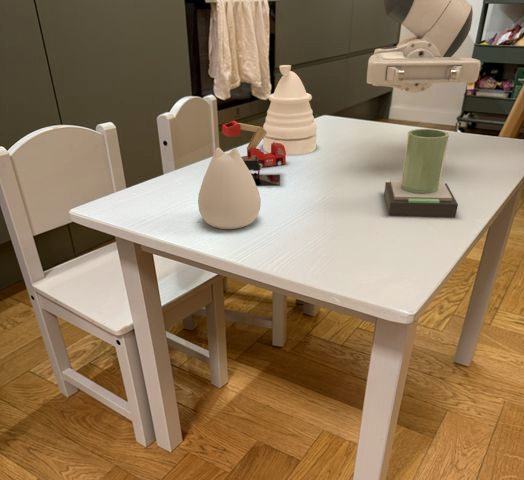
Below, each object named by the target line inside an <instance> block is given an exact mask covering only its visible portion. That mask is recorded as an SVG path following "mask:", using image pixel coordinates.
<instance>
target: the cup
mask: <svg viewBox="0 0 524 480" xmlns="http://www.w3.org/2000/svg"><path fill="white" fill-rule="evenodd" d="M449 137H450V134H449V132H447V131H444V130H440V129H433V128H416V129H411V130H409V131H408V132H407V137H406V145H405V151H404V158H403V165H402V173H401V179H400V180H401V188H402V189H403V190H405V191H407V192H411V193H418V194H428V193H433V192H436V191H437V190H438V188H439V185H440V180H442V179H441V178H442V174H443V169H444V163H445V158H446V153H447V147H448V141H449Z"/></svg>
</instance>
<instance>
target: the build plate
mask: <svg viewBox="0 0 524 480" xmlns="http://www.w3.org/2000/svg"><path fill="white" fill-rule="evenodd" d="M242 159H243V161H244V163H245V164H246V166H247V168H248V169H249V171H253V172H254V173H251V175H252V177H253V179H254V181H255V184H256V186H257V187H280V186H281V175H280V174H261V170H262V168H260V167H261V165H260V161H258V157H251V158H250V159H248V157H242Z"/></svg>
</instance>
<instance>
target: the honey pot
mask: <svg viewBox="0 0 524 480" xmlns="http://www.w3.org/2000/svg"><path fill="white" fill-rule="evenodd" d="M291 68H292V65H290V64H281V65H279V68H278V69H279V72H280V74H281V75H282V76H281V78H280V79H279V80H278V83H277V85H276V87H275V89H274V92H273V93H271V94H270V95H268V100H269V102H270V104H269V106H268V109H267V111H266V114H267V115H266V116H265V121H264V123H263V126H262V128H263V129H264V130H265V131H266V132H267V134H266V135H265V136H264V138H263V139H262V146H263V147H262V149H263V152H266V153H271V143H273V142H275V143H280V144H283V145H284V147H285V150H286V156H299V155H306V154H309V153H312V152H314V151H316V149H317V124H316V122H315V116H314V115H313V114H314V113H313V109H312V107H311V103H310V101H312V99H313V96H312V94H311V93H309V92H307V91H306V88H305V85H304V83H303V81H302V79H301V78H300V76H299V75H298V74H297V73H295V71H291Z"/></svg>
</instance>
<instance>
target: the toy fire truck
mask: <svg viewBox="0 0 524 480" xmlns="http://www.w3.org/2000/svg"><path fill="white" fill-rule="evenodd" d="M241 130H242V131H247V132H252V133H253V135H252V137H251V139H250V140H249V143H248V145H247V147H246V155H242V156H241V155H240V156H241V157H248V159H250V158H251V157H258V161H260V165H261V167H260V168H261V169H263V168H264V167H274V166H277V167H280V166H282V165H286V164H287V163H286V162H287V155H286V150H285V147H284V145H283V144H280V143H275V142H273V143H271V153H268V152H266V153H265V151H262V150H261V149H260V148H257V147H258V146H259V144H260V143H261V142H262V141H263V138H264V136H265V135H266V134H267V132H266V131H265V130H264V129H263V126H259V125H258V126H257V125H253V124H246V123H242V122H237V121H236V120H232V121H229V122H226V123H224V124H222V129H221V131H222V135H224V136H225V137H227V138H231V137H232V138H233V137H234V138H235V137H240V136H241V135H240V134H241Z"/></svg>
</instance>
